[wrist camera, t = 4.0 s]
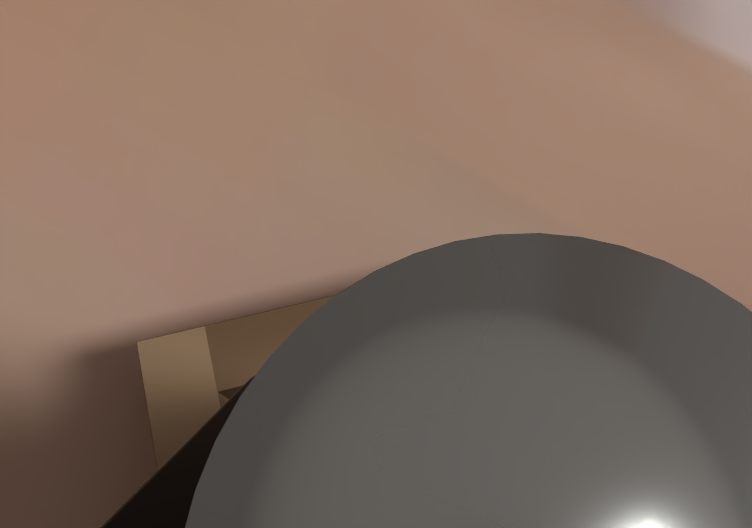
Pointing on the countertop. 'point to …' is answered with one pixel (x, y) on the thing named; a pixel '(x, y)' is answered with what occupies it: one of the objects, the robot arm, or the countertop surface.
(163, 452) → the square wooden frame
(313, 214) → the countertop surface
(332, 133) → the countertop surface
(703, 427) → the cylinder
